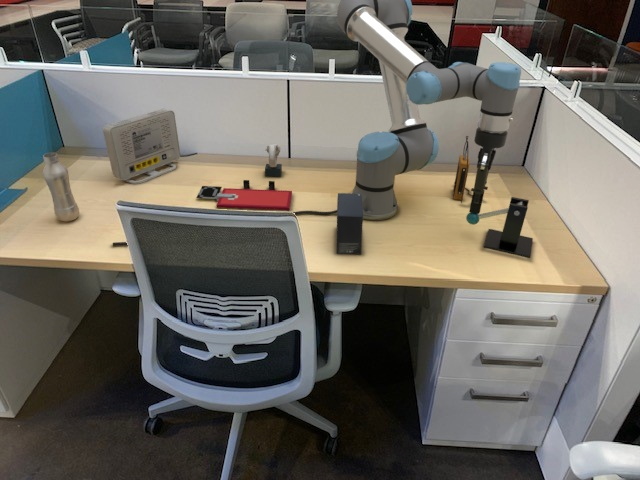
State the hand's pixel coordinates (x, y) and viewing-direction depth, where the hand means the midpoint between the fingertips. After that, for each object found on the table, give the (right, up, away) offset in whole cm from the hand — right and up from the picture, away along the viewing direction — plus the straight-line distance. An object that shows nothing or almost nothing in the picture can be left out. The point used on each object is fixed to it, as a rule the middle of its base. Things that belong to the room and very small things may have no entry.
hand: (474, 211), depth 132 cm
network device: (-103, +16, +38) cm, 111 cm away
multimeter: (+7, +6, +26) cm, 28 cm away
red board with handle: (-67, +6, +23) cm, 71 cm away
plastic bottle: (-117, -2, +10) cm, 117 cm away
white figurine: (-59, +16, +39) cm, 73 cm away
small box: (-35, -8, +2) cm, 36 cm away
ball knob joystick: (+5, -2, -1) cm, 6 cm away
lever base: (+9, -10, +1) cm, 14 cm away
